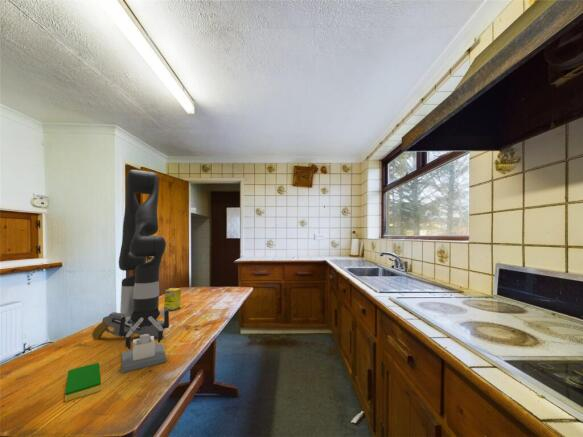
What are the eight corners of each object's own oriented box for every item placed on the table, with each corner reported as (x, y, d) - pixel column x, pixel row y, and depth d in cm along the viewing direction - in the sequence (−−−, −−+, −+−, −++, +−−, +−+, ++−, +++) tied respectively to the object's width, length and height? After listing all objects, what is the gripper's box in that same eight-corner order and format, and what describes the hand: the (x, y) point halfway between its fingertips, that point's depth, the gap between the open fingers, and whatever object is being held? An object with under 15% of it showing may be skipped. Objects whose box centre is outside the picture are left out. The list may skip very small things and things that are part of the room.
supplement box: (163, 310, 135) (164, 290, 135) (170, 307, 140) (171, 287, 141) (173, 311, 134) (174, 290, 134) (180, 308, 140) (181, 288, 140)
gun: (148, 361, 98) (164, 324, 99) (87, 338, 97) (105, 302, 98) (152, 357, 101) (168, 321, 103) (93, 335, 100) (110, 300, 101)
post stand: (122, 356, 84) (123, 333, 85) (161, 347, 91) (162, 326, 91) (121, 372, 74) (122, 346, 75) (166, 361, 81) (167, 338, 81)
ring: (132, 353, 83) (133, 339, 84) (153, 348, 87) (153, 335, 87) (132, 360, 78) (133, 346, 79) (154, 355, 82) (155, 342, 82)
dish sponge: (64, 403, 61) (64, 393, 61) (67, 378, 72) (68, 369, 72) (100, 392, 66) (101, 382, 66) (98, 369, 77) (99, 361, 77)
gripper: (168, 290, 91) (166, 336, 90) (121, 295, 83) (118, 345, 82) (171, 294, 85) (169, 343, 83) (120, 300, 77) (117, 354, 76)
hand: (144, 344), depth 83 cm, fingers open, 8 cm apart
